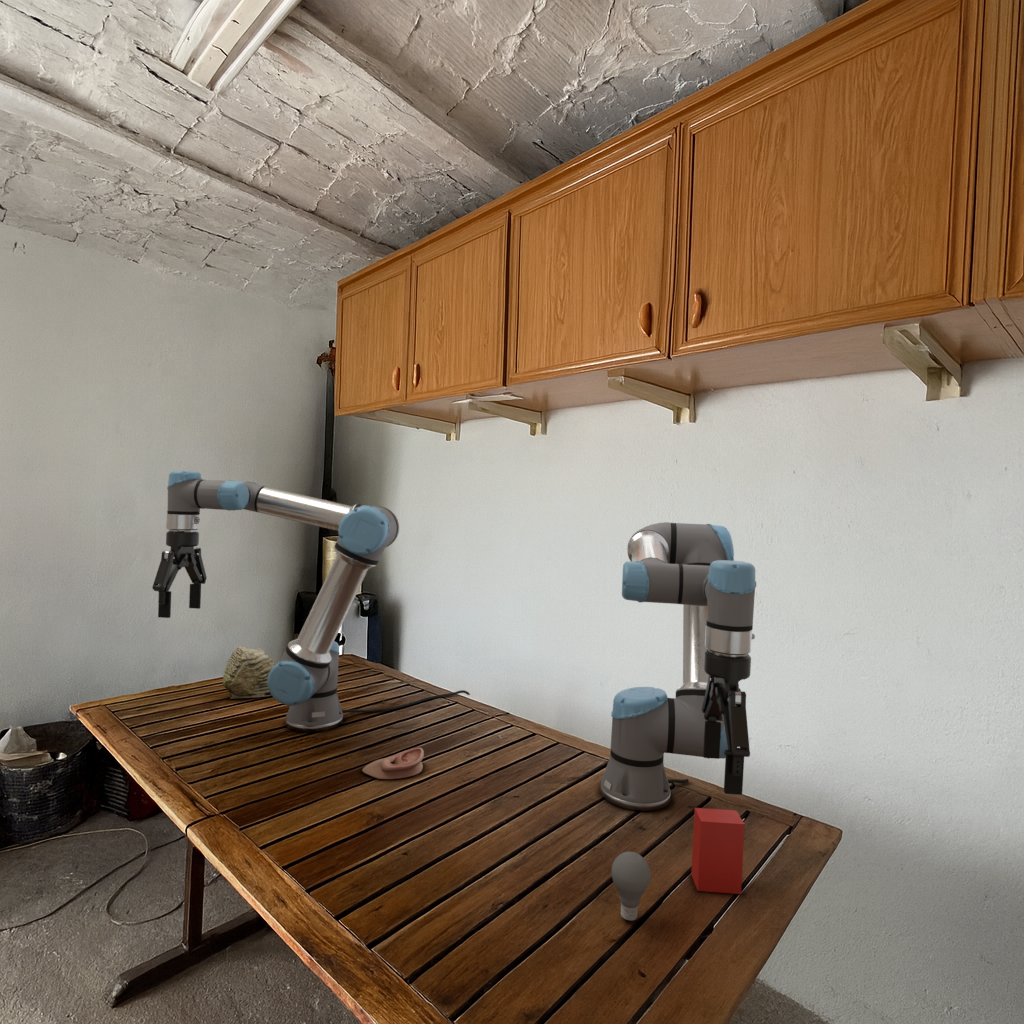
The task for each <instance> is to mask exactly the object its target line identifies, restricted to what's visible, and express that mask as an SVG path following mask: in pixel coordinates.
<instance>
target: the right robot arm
mask: <svg viewBox="0 0 1024 1024" xmlns="http://www.w3.org/2000/svg"><path fill="white" fill-rule="evenodd" d="M733 543H734V542H733V538H732V535H731V533H730V531H729V529H728V528H727V527H726V526H724V525H718V524H711V523H706V524H705V523H684V522H682V523H681V522H665V521H664V522H657V523H652V524H649V525H646V526H644V527H641V528H640V529H638V530H637V531H636V532H634V533H633V534H632V536H630V539H629V540H628V543H627V547H626V548H627V549H626V550H627V556H628V559H629V561H625V562H624V563H623V565H622V578H621V579H622V580H621V581H622V582H621V596H622V598H623V600H626V601H632V602H638V603H653V604H654V603H655V604H671V605H672V604H673V605H682V683H681V685H680V686H679V687H677V689H676V690H675V697H668V695H667V692H666V691H665V690H664V689H662V688H658V687H657V688H656V687H653V686H637V687H628V688H625V689H623V690H620V691H619V692H617V693H616V695H614V697H613V701H612V702H613V703H612V710H611V712H610V713H611V714H610V715H611V717H612V719H611V735H610V736H611V737H610V754H609V760H608V762H607V764H606V767H605V770H604V771H603V775H602V778H601V781H600V790H599V792H600V794H601V796H602V797H603V798H604V800H606V801H608V802H609V803H610V804H612V805H615V806H616V807H617V806H618V807H620V808H623V809H626V810H631V811H637V812H649V811H650V812H651V811H657V810H661V809H663V808H666V807H667V806H668V805H669V804H670V802H671V788H670V784H687V783H689V782H690V780H689V779H688V778H684V779H680V778H679V779H675V778H669V779H668V777H667V772H666V769H665V765H664V760H665V759H664V757H665V756H664V755H665V754H671V755H673V754H674V755H681V756H690V757H691V756H692V757H699V758H703V759H717V760H719V759H723V760H725V761H724V780H723V793H724V794H725V795H737V796H738V795H740V796H742V795H743V786H744V768H745V758H749V757H750V756H751V751H750V739H749V728H748V718H747V717H748V716H747V693H746V691H742V690H741V688H740V684H739V682H741V681H742V680H747V679H749V678H750V677H751V671H752V670H751V668H752V657H751V655H750V653H751V652H752V644H753V641H752V640H755V638H756V635H755V633H753V628H754V627H753V626H754V625H753V624H754V610H755V596H756V595H755V594H756V587H757V580H756V567H755V565H754V564H752V563H751V562H746V561H743V560H742V561H741V560H735V550H734V544H733Z"/></svg>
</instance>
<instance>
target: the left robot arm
mask: <svg viewBox="0 0 1024 1024" xmlns="http://www.w3.org/2000/svg"><path fill="white" fill-rule="evenodd" d="M166 489H167V511H166V525H165V526H166V528H165V529H167V530H168V531H167V532H166V533H165V534H166V535H165V545H166V546H167V547H170V549H169V551H168V550H162V551H161V556H160V557H161V558H160V562H159V565H158V568H157V572H156V573H155V578H154V580H153V583H152V590H153V591H154V592H158V607H157V609H158V610H157V613H158V614H157V618H163V619H169V618H171V615H172V614H171V612H172V609H171V608H172V590H170V589H171V587H172V585H173V583H174V581H175V579H176V577H177V574H178V573H179V571H180V570H181V569H182V568H184V570H185V571H186V573H187V575H188V577H189V579H190V581H191V583H190V584H189V597H188V598H189V600H188V608H189V609H197V610H199V609H201V602H202V601H201V599H202V585H206V581H207V573H206V570H205V565H204V562H203V558H202V548H201V547H197V546H199V544H200V533H199V531H198V530H199V529H200V522H201V518H200V512H201V510H202V509H203V510H219V511H220V510H221V511H229V512H230V511H242V510H245V511H249V512H254V513H258V514H259V513H260V514H264V515H269V516H272V517H277V518H281V519H285V520H289V521H293V522H298V523H302V524H306V525H311V526H315V527H319V528H323V529H327V530H332V531H336V532H338V538H337V540H336V542H335V544H334V545H333V549H334V551H335V554H336V556H335V558H334V561H333V563H332V565H331V567H330V569H329V571H328V574H327V575H326V577H325V580H324V582H323V584H322V586H321V588H320V590H319V593H318V594H317V596H316V599H315V601H314V603H313V605H312V607H311V609H310V611H309V613H308V616H307V618H306V620H305V622H304V623H303V625H302V628H301V630H300V632H299V634H298V636H297V638H295V639H293V640H290V641H289V642H288V644H287V646H286V648H285V650H284V651H283V654H282V656H281V658H280V660H279V662H276V663H275V666H274V667H273V668H272V669H271V671H270V673H269V675H268V680H267V684H268V688H269V690H270V693H271V695H272V698H273V699H274V700H275V701H277V702H278V703H280V704H282V705H285V706H289V708H288V711H287V713H286V715H285V726H286V728H287V729H289V730H291V731H294V732H295V731H296V732H301V733H316V732H325V731H329V730H332V729H335V728H337V727H339V726H340V725H342V723H343V722H344V714H345V713H347V714H348V713H377V712H378V713H379V712H386V711H392V710H393V711H394V710H398V709H402V708H405V707H409V706H413V705H415V704H419V703H422V702H425V701H429V700H433V699H438V698H444V697H453V696H455V695H458V694H466V695H467V696H470V695H471V693H470V692H469V691H467V690H463V689H462V690H461V689H460V690H457V691H453V692H450V693H442V694H436V695H431V696H428V697H427V696H426V697H423V698H420V699H417V700H414V701H410V702H407V703H403V704H400V705H396V706H389V707H382V708H372V709H371V708H369V709H342V706H341V702H340V699H339V695H338V682H339V681H338V680H339V678H338V677H339V662H340V661H339V660H340V659H339V657H340V645H339V643H338V642H337V641H335V640H336V638H337V636H338V633H339V632H340V629H341V627H342V625H343V624H344V621H345V619H346V617H347V615H348V613H349V610H350V608H351V607H352V604H353V602H354V600H355V598H356V596H357V593H358V592H359V589H360V587H361V585H362V583H363V581H364V580H365V577H366V575H367V573H368V571H369V570H370V569H372V568H375V567H377V565H378V564H379V561H380V559H381V557H382V555H383V553H384V551H385V549H387V548H388V547H389V546H391V545H393V543H394V542H395V541H396V540H397V538H398V535H399V533H400V523H399V519H398V517H397V515H396V514H395V513H394V511H392V510H391V509H389V508H387V507H385V506H382V505H381V506H380V505H365V504H361V503H356V504H354V505H349V504H344V503H341V502H336V501H332V500H327V499H322V498H319V497H313V496H309V495H306V494H301V493H296V492H292V491H287V490H284V489H279V488H275V487H270V486H265V485H261V484H259V483H256V482H252V481H239V480H238V481H237V480H231V479H230V480H222V479H221V480H220V479H219V480H218V479H202V474H201V473H200V472H199V471H189V470H188V471H187V470H186V471H185V470H172V471H171V472H169V474H168V482H167V487H166Z"/></svg>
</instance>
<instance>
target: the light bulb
mask: <svg viewBox="0 0 1024 1024" xmlns="http://www.w3.org/2000/svg"><path fill="white" fill-rule="evenodd" d="M651 875H652V874H651V869H650V867H649V864H648V862H647V861H646V859H645V858H644V857H643V856H642V855H640V854H639V853H637V852H634V851H624V852H622V853H620V854H618V856H616V857H615V859H614V860H613V863H612V865H611V877H612V878H611V879H612V882H613V885H614V886H615V888H616V890H617V892H618V897H619V902H620V916H621V917H622V918H623V919H624V920H627V921H635V920H637V919H638V909H639V907H638V906H639V905H640V903H641V899H642V897H643V895H644V893H645V892H646V890H647V889H648V888H649V885H650V883H651V877H652V876H651Z"/></svg>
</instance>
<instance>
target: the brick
mask: <svg viewBox="0 0 1024 1024" xmlns="http://www.w3.org/2000/svg"><path fill="white" fill-rule="evenodd" d="M693 814H694V815H693V833H692V834H693V835H692V855H691V857H692V858H691V873H690V874H691V875H690V876H691V877H692V879H693V883H694V885H695V888H696V890H697V892H705V893H706V892H708V893H719V894H732V895H742V883H743V864H744V843H745V826H746V825H745V823H744V821H743V819H742V817H741V816H740V814H739V813H738V811H737V810H735V809H734V810H733V809H718V808H706V807H705V808H704V807H694V812H693Z"/></svg>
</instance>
